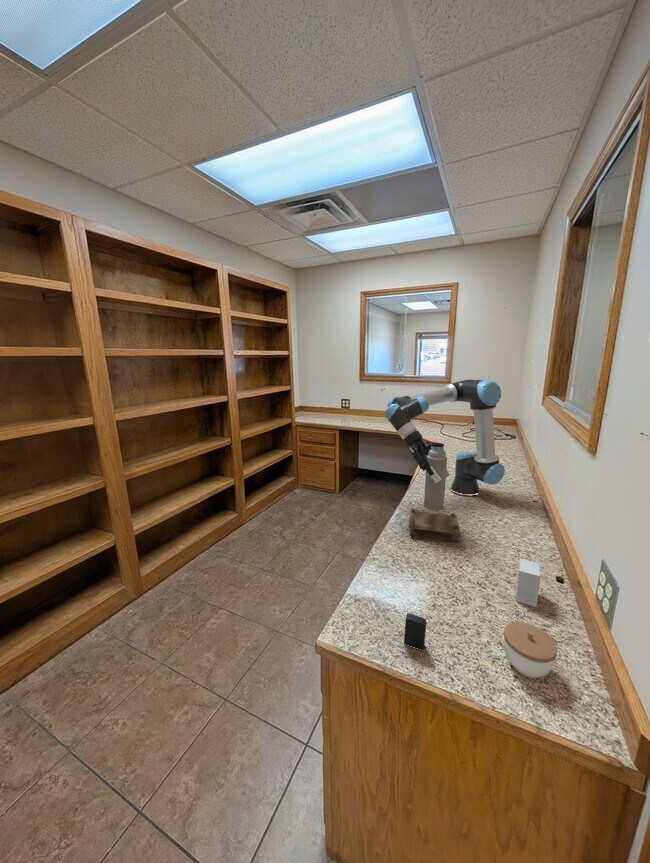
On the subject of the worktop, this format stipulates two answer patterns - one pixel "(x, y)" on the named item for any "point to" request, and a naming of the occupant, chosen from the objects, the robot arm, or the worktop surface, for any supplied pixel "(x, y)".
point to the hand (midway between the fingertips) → (443, 478)
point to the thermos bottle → (432, 489)
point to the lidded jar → (529, 649)
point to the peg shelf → (434, 523)
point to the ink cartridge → (415, 631)
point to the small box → (528, 582)
